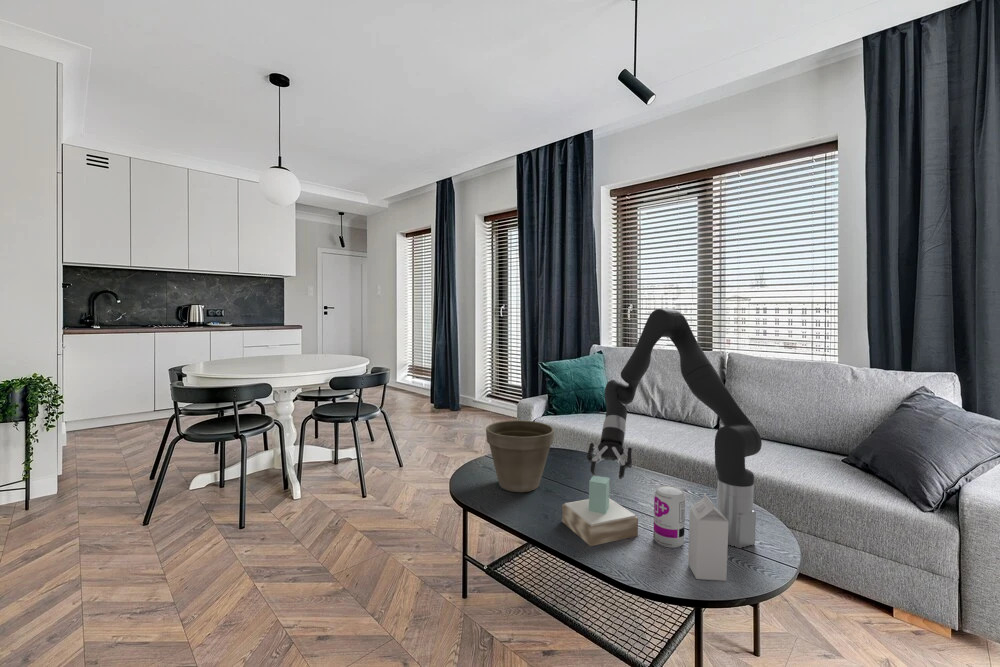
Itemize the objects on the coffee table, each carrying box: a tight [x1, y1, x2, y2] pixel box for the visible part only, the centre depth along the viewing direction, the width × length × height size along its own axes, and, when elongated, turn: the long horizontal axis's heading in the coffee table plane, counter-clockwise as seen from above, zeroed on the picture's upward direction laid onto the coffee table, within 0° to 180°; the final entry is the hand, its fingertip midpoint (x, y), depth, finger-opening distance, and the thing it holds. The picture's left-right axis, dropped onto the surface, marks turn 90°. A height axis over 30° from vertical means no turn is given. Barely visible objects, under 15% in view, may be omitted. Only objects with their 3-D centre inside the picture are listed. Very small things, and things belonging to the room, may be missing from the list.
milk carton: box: [687, 493, 729, 582], centre depth 120 cm, size 7×7×19 cm
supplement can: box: [652, 484, 686, 549], centre depth 136 cm, size 8×8×15 cm
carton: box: [588, 475, 611, 514], centre depth 143 cm, size 5×5×9 cm
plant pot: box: [485, 420, 555, 493], centre depth 177 cm, size 25×25×22 cm
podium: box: [561, 497, 639, 547], centre depth 144 cm, size 16×16×6 cm
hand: (606, 476), depth 154 cm, fingers open, 8 cm apart
